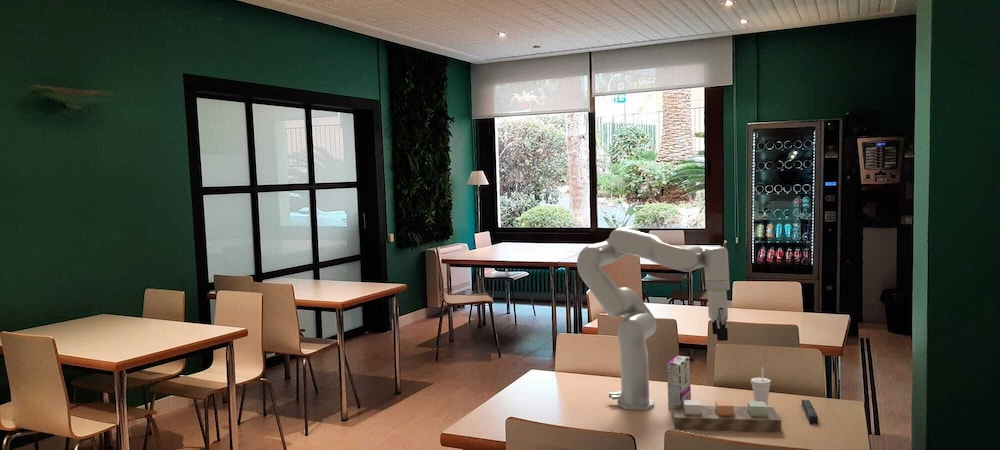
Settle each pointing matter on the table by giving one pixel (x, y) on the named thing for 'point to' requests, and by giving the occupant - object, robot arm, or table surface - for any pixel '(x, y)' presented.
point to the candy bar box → (678, 381)
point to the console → (726, 420)
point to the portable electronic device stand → (809, 412)
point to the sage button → (757, 408)
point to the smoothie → (761, 388)
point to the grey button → (692, 407)
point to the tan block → (724, 408)
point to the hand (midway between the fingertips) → (720, 337)
